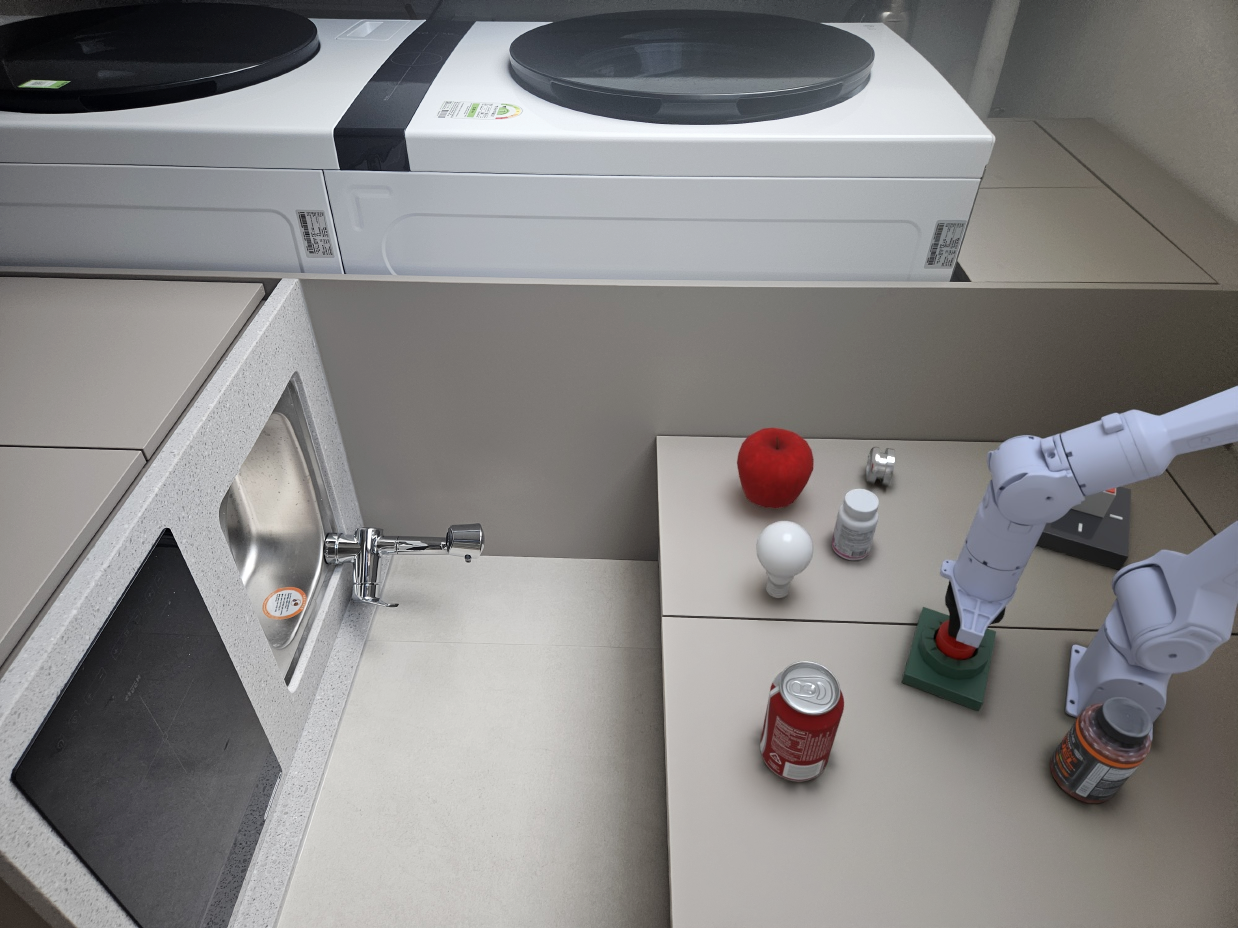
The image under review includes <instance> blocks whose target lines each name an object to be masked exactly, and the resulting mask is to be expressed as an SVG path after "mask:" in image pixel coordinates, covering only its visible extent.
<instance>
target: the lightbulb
mask: <svg viewBox="0 0 1238 928" xmlns="http://www.w3.org/2000/svg"><path fill="white" fill-rule="evenodd" d="M756 540H757V541H756V544H755V545H756V546H755V550H756V552H755V553H756V556H757V559H758V562H759V563H760V565H761V567H762V568H763V569H764V570H765V573H766V576H767V580H766V584H765V585H766V586H765V590H766V593H767V594H768V595H769V596H771V597H773V598H776V599H782V598H785V597H786V596H788V594H789V593H790V592H789V591H790V586H791V582H792V581H793V579H795V577H796V576H798V575H799V574H801V573H802V572H804V571H805V570H806V569H807V568H808V567H809V565H810V564H811V561H812V559H813V556H814V542H813V539H812V537H811V534H809V532H808V531H807V530H806V529H805V528H804V527H803V526H802V525H800V524H799V523H797V522H795V521H791V520H778V521H774V522H772V523H770V524H769V525H767V526H765V527H764V528H763V529H762V530H761V532H760V534H759V536H758V537H757V539H756Z"/></svg>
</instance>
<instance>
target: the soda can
mask: <svg viewBox="0 0 1238 928" xmlns="http://www.w3.org/2000/svg"><path fill="white" fill-rule="evenodd" d="M844 709H845V698H844V694H843V692H842V689H841V686H840V683H839V680H838V678H837V677H836V675H835V674H834V672H833V671H831V670H830V669H829V668H827V667H826V666H825V665H822V664H821V663H818V662H815V661H811V660H800V661H795V662H793V663H790V664H789V665H787V666H786V667H785V668H784V669H783V670H782V671H781V672H779V673H778V674H777V675H776V677H775V678H774V679H773V681H772V682H771V685H770V687H769V694H768V700H767V704H766V710H765V715H764V721H763V726H762V730H761V736H760V740H759V750H760V755H761V757H762V759H763V761H764V763H765V764H766V767H768V768H769V769H770V771H771V772H773V773H774V774H775V775H777V777H780V778H781V779H784V780H787V781H790V782H797V783H800V782H807V781H810V780H814V779H815V778H817V777H819V775H821V774H822V773H823V771H824V770H825V768H826V767H827V765H828V761H829V758H830V755H831V752H832V748H833V746H834V742H835V738H836V736H837V733H838V729H839V726H840V724H841V719H842V717H843V714H844Z"/></svg>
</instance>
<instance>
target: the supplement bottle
mask: <svg viewBox="0 0 1238 928" xmlns="http://www.w3.org/2000/svg"><path fill="white" fill-rule="evenodd" d="M1151 729H1152V721H1151V718H1150V716H1149V714H1148V713H1147V712H1146V710H1145V709H1144V708H1143V707H1141V706H1140V705H1139V704H1137V703H1136V702H1134V701H1132V700H1130V699H1127V698H1124V697H1112V698H1109V699H1107V700H1106V701H1105V702H1104V703H1097V704H1093V705H1090V706H1088V707H1087V708H1086V709H1084V710H1083V712H1082V713H1081V714H1080V716H1079V717H1078V718H1076V720H1075V721H1074V722H1073V723H1072V725H1071V727H1070V728H1069V729H1068V731H1067V732H1066V734H1065V735H1064V737H1063V738H1062V740H1061V741H1060V742H1059V744H1058V745H1057V746H1056V747H1055V750H1054V751H1053V753H1052V755H1051V758H1050V763H1049V765H1050V771H1051V773H1052V777H1053V778H1054V781H1055V782H1056V783H1057V785H1058V786H1059V787H1061V789H1062V790H1063V791H1064V792H1065V793H1067V794H1068V795H1070V796H1071V797H1072V798H1075V799H1076V800H1078V801H1081V802H1084V803H1087V804H1101V803H1104V802H1106V801H1108V800H1110V799H1112V798H1113V796H1115V794H1116V793H1117V792H1118V791H1119V790H1120V789H1121V787H1123V785H1124V784H1125V783H1126V782H1127V781H1128V780H1129V778H1130V777H1131V776H1132V775H1133V774H1134V773H1135V771H1136V770H1137V769H1138V768H1139V767H1140V766H1141V764H1142V763H1143V762H1144V761H1145V759H1146V758H1147V757H1148V755H1149V754H1150V751H1151V747H1152V741H1151V739H1150V735H1149V732H1150V731H1151Z"/></svg>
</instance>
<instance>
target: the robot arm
mask: <svg viewBox="0 0 1238 928" xmlns="http://www.w3.org/2000/svg"><path fill="white" fill-rule="evenodd" d="M1236 442H1237V443H1238V385H1236V386H1234V387H1231V388H1228V389H1226V390H1223V391H1220V392H1218V393H1216V394H1213V395H1210V396H1208V397H1207V396H1206V397H1205V398H1202V399H1200V400H1196V401H1195V402H1192V403H1189V404H1187V405H1184V406H1182V407H1179V408H1177V409H1174V410H1171V411H1169V412H1165V413H1163V414H1160V415H1157V414H1152V413H1149V412H1145V411H1142V410H1139V409H1130V410H1127V411H1125V412H1121V413H1118V412H1113V413H1110V414H1107V415H1105V416H1102V417H1101V418H1100V420H1097V421H1093V422H1091V423H1088V424H1084V425H1082V426H1079V427H1076V428H1073V429H1070V430H1066V431H1063V432H1061V433H1057V434H1054V435H1051V436H1048V437H1045V438H1041V437H1040V436H1035V435H1029V434H1028V435H1027V434H1024V435H1017V436H1014V437H1013V436H1012V437H1010V438H1009V439H1007V440H1005V441H1003V442H1001V444H1000V445H999V446H997V449H994V450H989V451H988V452H987V455H986V464H987V468H988V470H989V472H990V474H991V479H990V480H989V482H988V484H987V486H986V489H985V492H984V494H983V497H982V499H981V501H980V502H979V504H978V507H977V510H976V512H975V514H974V517H973V520H972V523H971V525H970V527H969V530H968V531H967V535H966V537H965V540H964V542H963V545H962V547H961V550H960V553H959V555H958V557H957V559H956V560H953V559H947V558H946V559H943V561H942V563H941V566H940V571H939V575H940V576H941V577H942V578H944V579H947V580H948V585H947V588H946V592H945V596H944V603H945V604H944V605H945V606H946V608H947V610H948V615H949V625H948V635H949V636H951V637H954V638H956V640H957V641H959V642H962V643H964V644H967V645H970V646H973V647H976V648H978V647H979V645H980V643H981V640H982V638H983V636H984V633H985V630H986V629H988V628H989V626H991V625H996V624H999V623H1001V621H1002V620H1003V619H1004V618H1005V613H1006V608H1007V606H1008V604H1009V603H1010V602H1012V600H1013V598H1014V597H1015V594H1016V592H1017V589H1018V588H1017V587H1018V586H1017V585H1018V583H1019V582H1020V579H1021V577H1022V575H1023V572H1024V570H1025V568H1026V566H1027V565H1028V563H1029V560H1030V559H1031V556H1032V554H1033V552H1034V550H1035V548H1036V546H1037V545H1036V544H1037V542H1038V540H1039V538H1040V536H1041V534H1042V532H1043V530H1044V527H1045V525H1046V523H1051V522H1054V521H1056V520H1058V519H1060V518H1061V517H1063V516H1064V515H1065V514H1066V513H1067V512H1068V511H1069V510H1070V509H1071V508H1072V507H1073V506H1075V505H1078V504H1081V501H1084V500H1085V498H1084V497H1085V496H1088V495H1092V494H1095V493H1099V492H1103V491H1106V490H1110V489H1113V488H1117V487H1123V486H1127V485H1130V484H1134V483H1138V482H1142V481H1145V480H1149V479H1151V478H1154V477H1159V476H1161V475H1163V473H1164V472H1165V471H1166V470H1167V468H1168V467H1169V466H1170V464H1171V462H1172V461H1173V460H1174V459H1175V458H1176V457H1177V456H1179V455H1183V454H1187V453H1189V454H1190V453H1192V452H1193V453H1194V452H1197V451H1201V450H1207V449H1210V448H1215V447H1220V446H1223V445H1227V444H1232V443H1236ZM1111 589H1112V592H1113V594H1114V596H1115V597H1116V598H1115V599H1114V601H1113V603H1112V605H1111V608H1112V609H1111V610H1110V611H1109V612H1108V614H1107V616H1106V618H1105V619H1104V620H1103V623H1102V624H1101V625H1100V627H1099V629H1098V630H1097V632H1096V634H1095V635H1094V637H1093V638H1092V640H1091V642H1090V643H1089V645H1088V646H1087V647H1085V646H1082V645H1079V644H1073V645H1072V646H1071V648H1070V649H1071V650H1070V658H1069V659H1070V660H1069V668H1068V677H1067V679H1068V680H1067V690H1066V699H1065V708H1064V710H1065V713H1066V714H1067V715H1068V716H1071V717H1073V718H1076V719H1077V718H1078V717H1079V716H1080V714H1081V713H1082V712H1083V710H1084V709H1086V708H1087V707H1088V706H1090V705H1093V704H1097V703H1104V702H1105V701H1106V700H1107V699H1109V698H1112V697H1124V698H1127V699H1130V700H1132V701H1134V702H1136V703H1137V704H1139V705H1140V706H1141V707H1143V708H1144V709H1145V710H1146V712H1147V713H1148V714H1149V716H1150V718H1151V721H1152V729H1151V731H1150V732H1149V735H1150V739H1151V742H1153V730H1154V729H1153V728H1154V726H1153V725H1154V724H1153V723H1155V721H1156V720H1157V719H1158V717H1159V716H1160V715H1161V714H1162V713H1163V711H1164V710H1165V709H1166V706H1167V705H1166V704H1167V692H1168V685H1169V682H1170V679H1171V677H1172V675H1174V674H1182V673H1186V672H1190V671H1192V670H1195V669H1197V668H1198V667H1200V666H1202V665H1204V664H1205V663H1206V662H1207V661H1208V660H1209V659H1210V658H1211V656H1212V654H1213V652H1214V651H1215V650H1216V649H1217V648H1218V647H1220V646H1221V645H1223V644H1224V643H1226V642H1228V641H1229V640H1230V639H1231V635H1232V631H1233V626H1234V621H1235V616H1236V612H1237V607H1238V519H1237V520H1235V521H1234V522H1233V523H1232V524H1229V525H1228V526H1226V527H1225V528H1224V529H1222V530H1221V531H1220V532H1219V533H1217V534H1215V535H1214V536H1213V537H1211V538H1210V539H1208V540H1207V541H1205V542H1204V543H1203V544H1201V545H1200V546H1198V547H1197V548H1196V549H1194V550H1193V551H1191V552H1190V553H1188V554H1186V553H1184V552H1180V551H1176V550H1169V549H1160V550H1159V551H1158V552H1157V553H1155V554H1153V555H1152V556H1151V557H1150V556H1149V557H1148V558H1146V559H1143V560H1140V561H1137V562H1133V563H1131V564H1128V565H1126V566H1124V567H1122V568H1121V570H1118V571H1117V572H1116V573H1115V574H1114V575H1113V577H1112V580H1111Z"/></svg>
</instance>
